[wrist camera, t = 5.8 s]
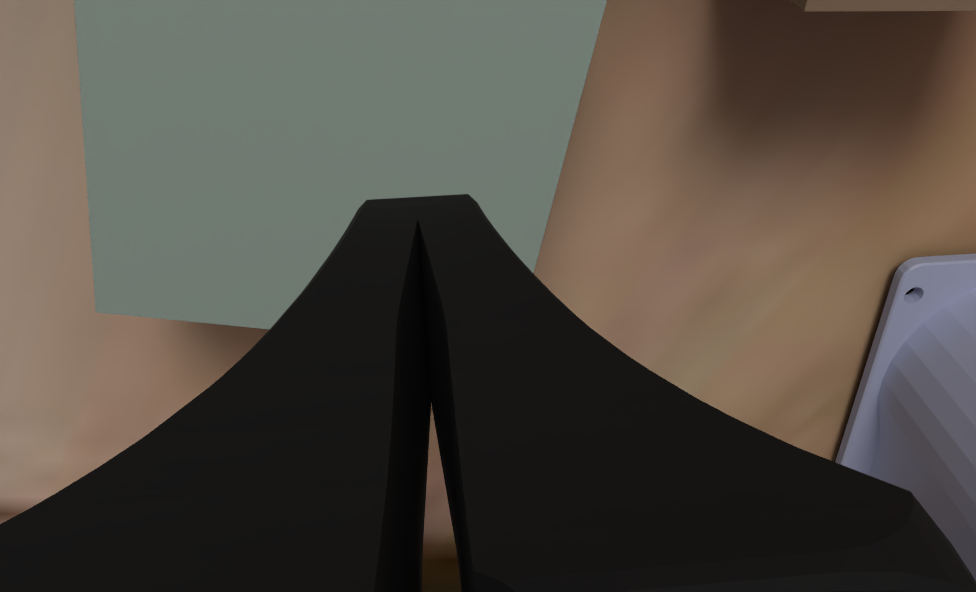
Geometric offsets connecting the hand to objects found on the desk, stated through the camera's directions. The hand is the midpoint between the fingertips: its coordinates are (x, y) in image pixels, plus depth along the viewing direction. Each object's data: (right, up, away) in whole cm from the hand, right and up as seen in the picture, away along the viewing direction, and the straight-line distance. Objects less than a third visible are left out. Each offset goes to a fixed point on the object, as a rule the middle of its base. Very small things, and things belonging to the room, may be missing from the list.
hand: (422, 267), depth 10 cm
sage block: (-2, +5, +8) cm, 10 cm away
